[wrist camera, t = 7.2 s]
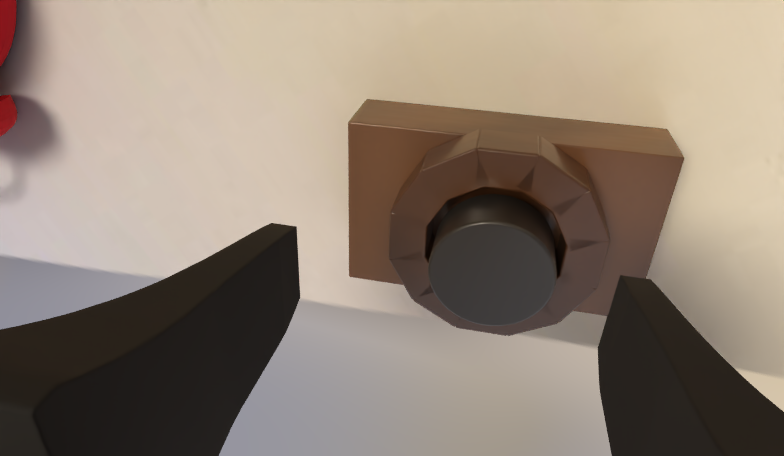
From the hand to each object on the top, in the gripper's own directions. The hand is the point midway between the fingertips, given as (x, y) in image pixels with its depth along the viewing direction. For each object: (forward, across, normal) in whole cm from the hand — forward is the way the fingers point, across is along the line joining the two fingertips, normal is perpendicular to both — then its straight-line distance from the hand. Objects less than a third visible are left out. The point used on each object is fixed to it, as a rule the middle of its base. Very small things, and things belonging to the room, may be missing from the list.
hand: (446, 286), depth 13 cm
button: (+5, -1, +2) cm, 5 cm away
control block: (+8, -1, +2) cm, 9 cm away
